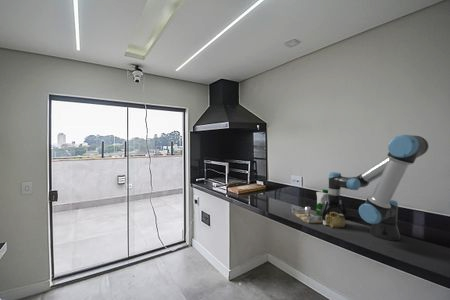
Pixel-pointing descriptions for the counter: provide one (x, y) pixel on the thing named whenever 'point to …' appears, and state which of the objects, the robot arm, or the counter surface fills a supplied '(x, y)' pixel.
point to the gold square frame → (335, 220)
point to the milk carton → (321, 200)
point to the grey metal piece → (308, 214)
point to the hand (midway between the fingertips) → (333, 224)
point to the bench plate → (302, 216)
